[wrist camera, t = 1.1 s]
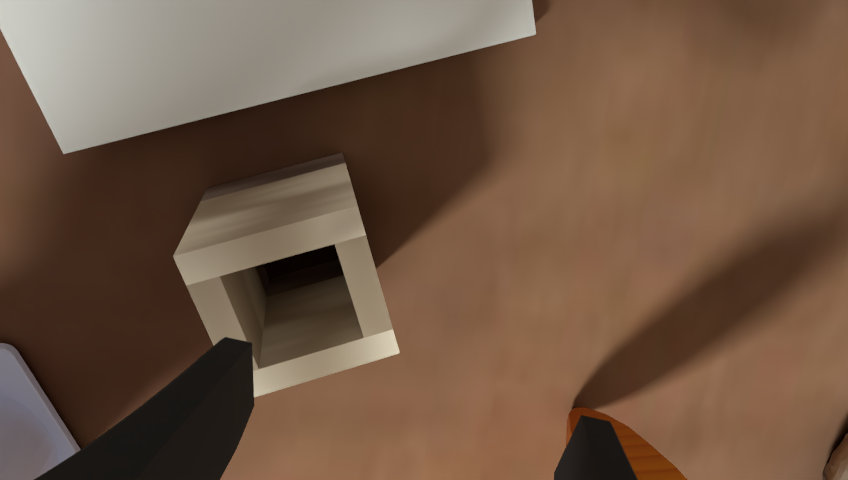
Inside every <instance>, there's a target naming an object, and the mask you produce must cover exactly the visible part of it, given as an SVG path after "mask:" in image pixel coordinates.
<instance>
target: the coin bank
mask: <svg viewBox="0 0 848 480" xmlns="http://www.w3.org/2000/svg"><path fill="white" fill-rule="evenodd" d="M823 480H848V433H847V434H846V436H845V437H844V439H843V440H842V442H841V443H840V444H839V446H838V447H837V448H836V449H835V450H834V452H833V453H832V455H831V458H830V461H829V463H828V464H827V465H826V466H825V469H824V472H823Z"/></svg>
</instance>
